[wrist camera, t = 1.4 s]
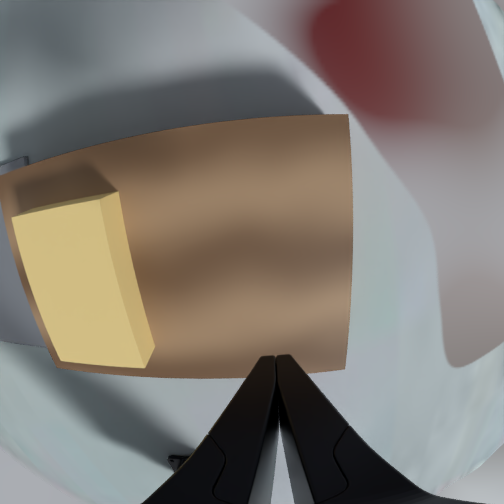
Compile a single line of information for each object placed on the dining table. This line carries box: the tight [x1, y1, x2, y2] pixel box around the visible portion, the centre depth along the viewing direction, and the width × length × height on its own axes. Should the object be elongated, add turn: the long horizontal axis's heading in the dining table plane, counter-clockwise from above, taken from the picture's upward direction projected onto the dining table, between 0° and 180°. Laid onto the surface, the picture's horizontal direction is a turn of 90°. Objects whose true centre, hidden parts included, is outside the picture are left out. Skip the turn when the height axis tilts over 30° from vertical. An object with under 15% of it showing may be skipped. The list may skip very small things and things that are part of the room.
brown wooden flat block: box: [0, 114, 353, 379], centre depth 17 cm, size 14×20×4 cm
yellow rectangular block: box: [11, 191, 155, 368], centre depth 15 cm, size 9×6×2 cm, turn 5°
